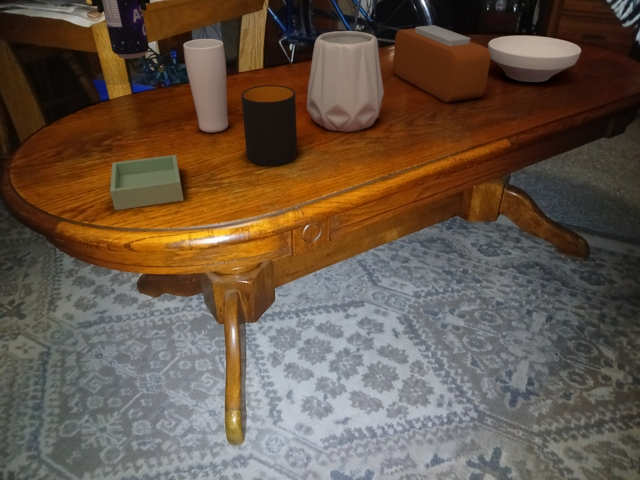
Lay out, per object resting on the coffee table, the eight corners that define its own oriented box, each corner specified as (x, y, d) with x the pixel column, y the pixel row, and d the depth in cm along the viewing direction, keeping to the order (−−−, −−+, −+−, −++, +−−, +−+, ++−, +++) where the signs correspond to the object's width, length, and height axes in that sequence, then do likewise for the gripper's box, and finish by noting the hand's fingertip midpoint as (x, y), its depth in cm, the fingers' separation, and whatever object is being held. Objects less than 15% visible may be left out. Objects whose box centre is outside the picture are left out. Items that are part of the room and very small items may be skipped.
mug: (265, 134, 92) (261, 76, 86) (307, 156, 84) (306, 94, 78) (225, 147, 87) (218, 86, 81) (265, 171, 80) (261, 106, 74)
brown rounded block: (484, 100, 106) (494, 42, 100) (449, 105, 103) (458, 47, 97) (422, 69, 124) (427, 19, 118) (391, 73, 122) (395, 22, 115)
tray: (115, 210, 70) (109, 191, 68) (116, 180, 77) (112, 162, 76) (183, 200, 72) (180, 181, 71) (179, 172, 80) (175, 154, 78)
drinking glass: (234, 121, 97) (225, 38, 89) (231, 134, 92) (221, 48, 83) (197, 122, 97) (185, 38, 88) (192, 136, 91) (179, 48, 83)
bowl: (514, 61, 130) (520, 31, 126) (589, 79, 117) (598, 46, 113) (465, 76, 120) (470, 44, 116) (541, 97, 107) (550, 62, 103)
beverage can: (145, 59, 81) (129, -26, 74) (108, 59, 81) (89, -26, 74) (153, 50, 85) (139, -31, 79) (119, 50, 85) (102, -31, 79)
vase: (376, 139, 90) (381, 49, 81) (298, 132, 92) (295, 44, 84) (386, 111, 101) (392, 29, 92) (317, 106, 104) (316, 26, 95)
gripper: (158, -133, 74) (177, 3, 84) (28, -135, 70) (65, 9, 80) (161, -135, 68) (182, 11, 78) (19, -137, 64) (60, 18, 74)
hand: (122, 9), depth 79 cm, fingers closed on beverage can, 5 cm apart
